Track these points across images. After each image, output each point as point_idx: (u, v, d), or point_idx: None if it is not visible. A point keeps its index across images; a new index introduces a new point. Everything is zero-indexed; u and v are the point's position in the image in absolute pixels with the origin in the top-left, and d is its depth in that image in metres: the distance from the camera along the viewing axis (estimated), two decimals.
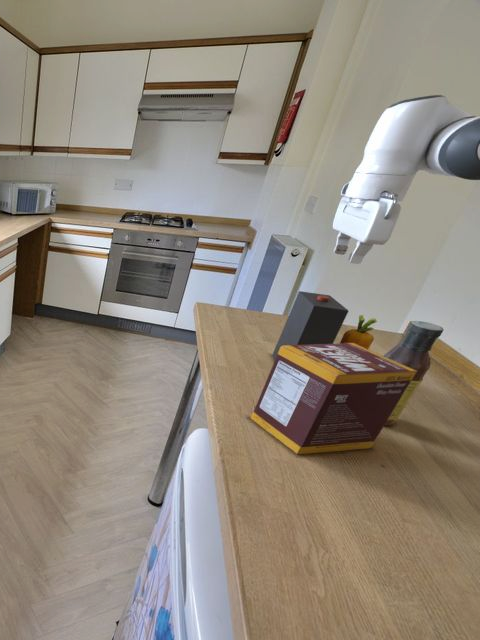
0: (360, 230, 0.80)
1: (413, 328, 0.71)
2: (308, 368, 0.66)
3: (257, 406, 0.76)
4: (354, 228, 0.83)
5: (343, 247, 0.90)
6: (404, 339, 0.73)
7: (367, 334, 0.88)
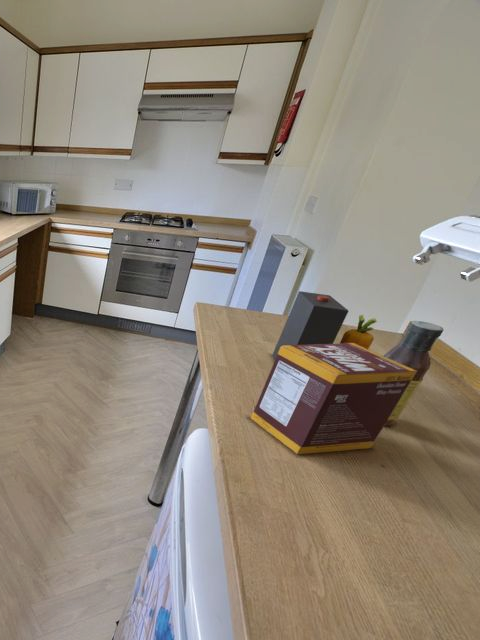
0: None
1: (413, 328, 0.71)
2: (308, 368, 0.66)
3: (257, 406, 0.76)
4: None
5: None
6: (404, 339, 0.73)
7: (367, 334, 0.88)
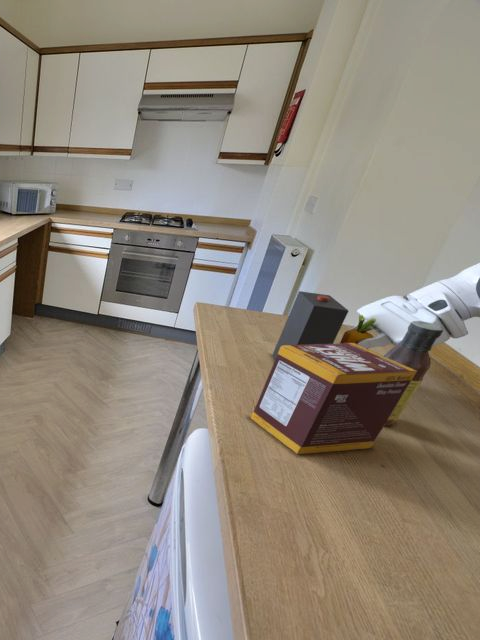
0: None
1: (413, 328, 0.71)
2: (308, 368, 0.66)
3: (257, 406, 0.76)
4: None
5: None
6: (404, 339, 0.73)
7: (367, 334, 0.88)
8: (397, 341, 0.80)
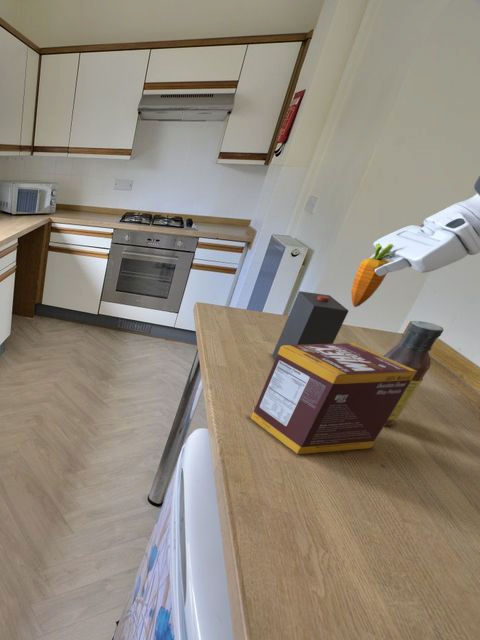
0: None
1: (413, 328, 0.71)
2: (308, 368, 0.66)
3: (257, 406, 0.76)
4: None
5: None
6: (404, 339, 0.73)
7: (384, 261, 0.90)
8: (415, 260, 0.82)
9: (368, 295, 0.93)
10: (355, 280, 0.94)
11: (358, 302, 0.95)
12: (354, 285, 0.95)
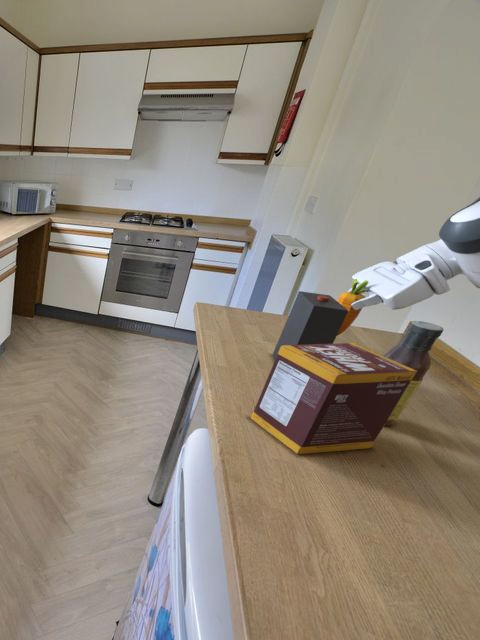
0: None
1: (413, 328, 0.71)
2: (308, 368, 0.66)
3: (257, 406, 0.76)
4: None
5: None
6: (404, 339, 0.73)
7: (360, 295, 0.97)
8: (386, 298, 0.89)
9: (346, 326, 1.00)
10: None
11: None
12: None
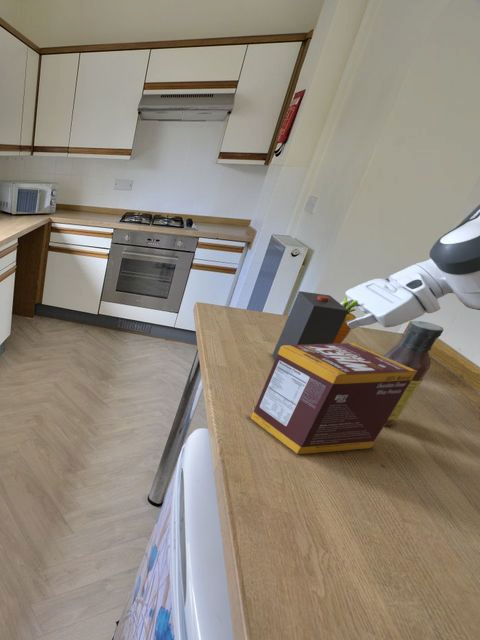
0: None
1: (413, 328, 0.71)
2: (308, 368, 0.66)
3: (257, 406, 0.76)
4: None
5: None
6: (404, 339, 0.73)
7: (350, 315, 0.99)
8: (378, 316, 0.90)
9: None
10: None
11: None
12: None
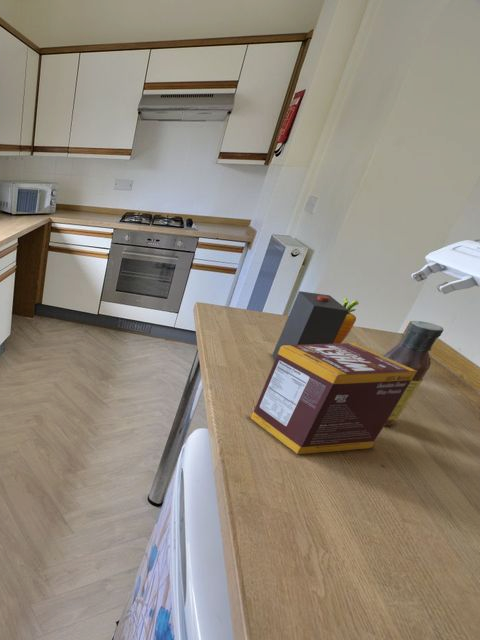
0: None
1: (413, 328, 0.71)
2: (308, 368, 0.66)
3: (257, 406, 0.76)
4: None
5: None
6: (404, 339, 0.73)
7: (350, 315, 0.99)
8: None
9: None
10: None
11: None
12: None
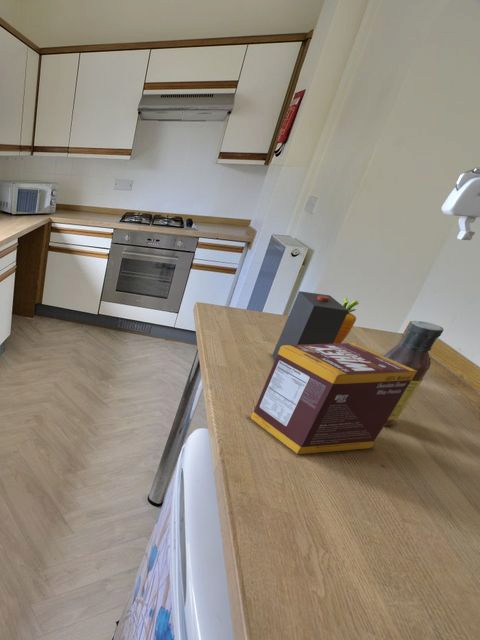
0: None
1: (413, 328, 0.71)
2: (308, 368, 0.66)
3: (257, 406, 0.76)
4: None
5: None
6: (404, 339, 0.73)
7: (350, 315, 0.99)
8: None
9: None
10: None
11: None
12: None
